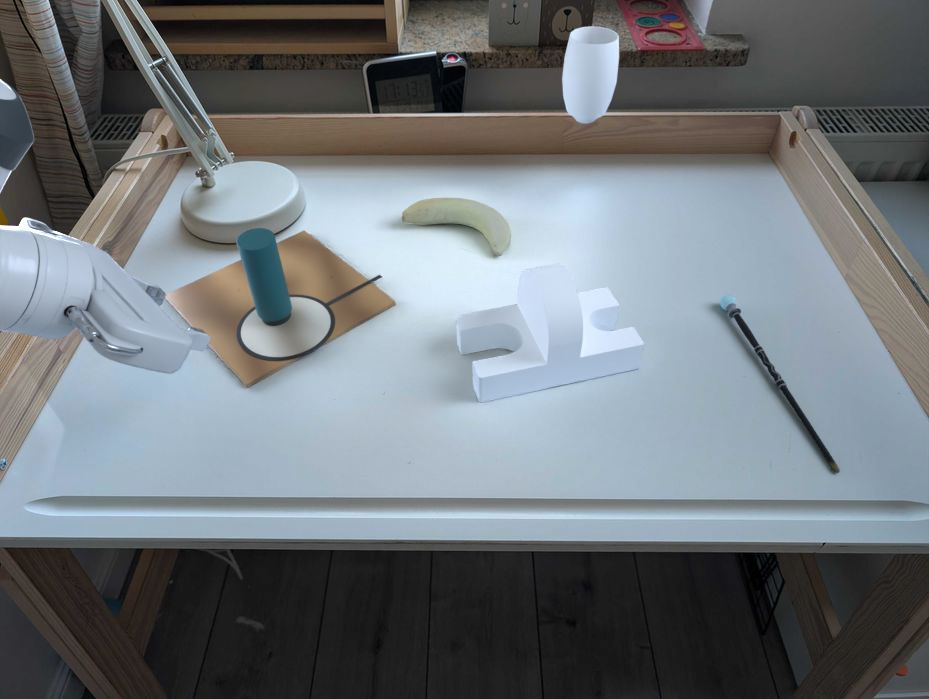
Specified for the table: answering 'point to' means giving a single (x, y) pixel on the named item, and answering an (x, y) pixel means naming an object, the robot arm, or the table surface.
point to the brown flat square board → (312, 316)
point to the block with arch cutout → (547, 337)
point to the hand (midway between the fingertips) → (181, 318)
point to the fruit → (462, 218)
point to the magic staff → (775, 374)
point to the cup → (590, 72)
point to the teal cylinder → (265, 275)
